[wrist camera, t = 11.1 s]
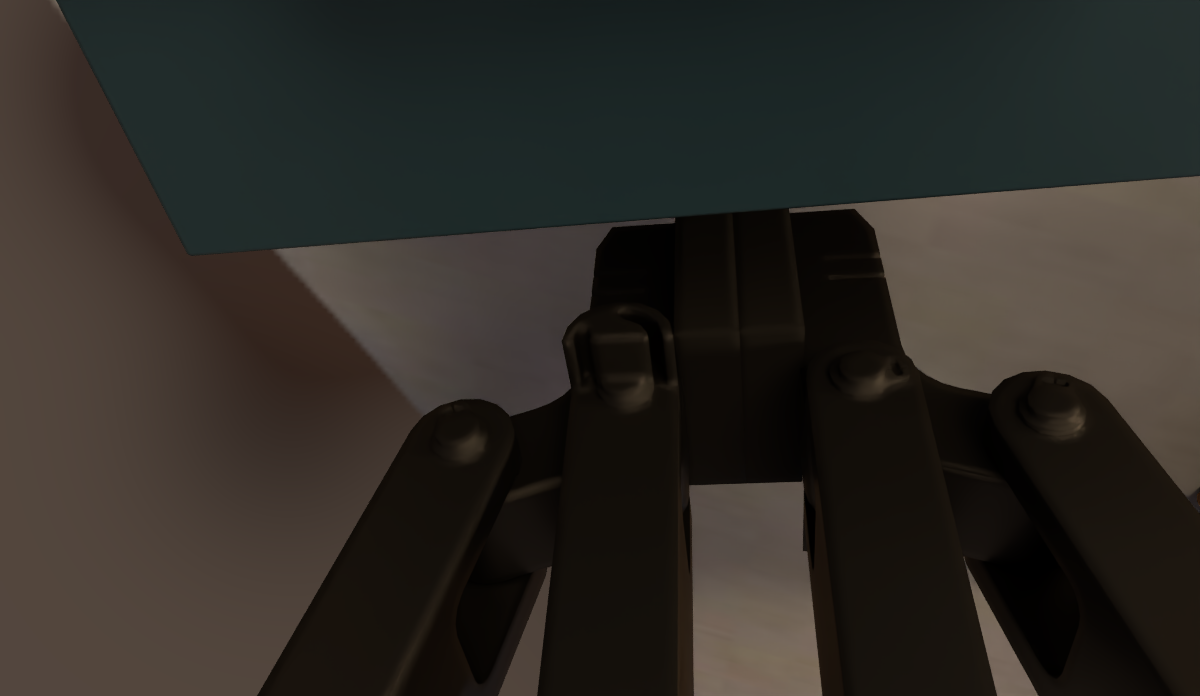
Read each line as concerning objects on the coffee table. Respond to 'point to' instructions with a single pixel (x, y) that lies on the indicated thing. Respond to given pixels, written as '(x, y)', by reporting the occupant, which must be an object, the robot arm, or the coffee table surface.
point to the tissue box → (625, 107)
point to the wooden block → (1198, 498)
